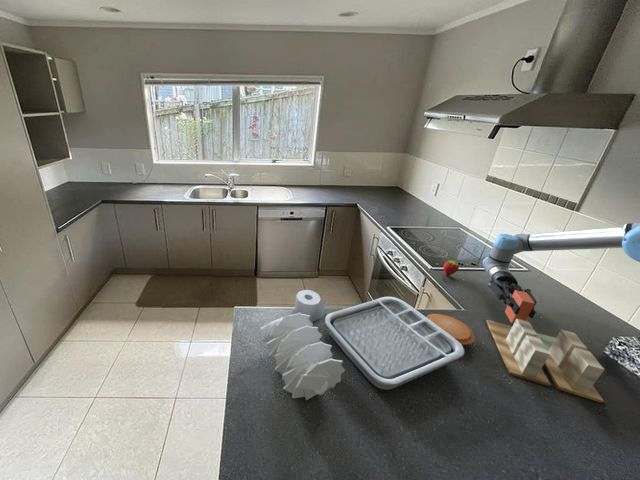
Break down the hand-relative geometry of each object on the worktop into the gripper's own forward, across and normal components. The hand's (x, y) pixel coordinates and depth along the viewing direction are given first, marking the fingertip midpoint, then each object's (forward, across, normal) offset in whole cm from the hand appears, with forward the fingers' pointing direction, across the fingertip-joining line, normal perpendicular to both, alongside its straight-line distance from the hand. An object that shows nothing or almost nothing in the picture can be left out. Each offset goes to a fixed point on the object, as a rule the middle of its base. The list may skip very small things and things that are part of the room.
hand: (525, 312), depth 97 cm
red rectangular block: (-4, 0, -6) cm, 7 cm away
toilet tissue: (+19, +70, -14) cm, 74 cm away
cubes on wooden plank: (+4, -12, -14) cm, 19 cm away
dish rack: (+24, +42, -14) cm, 50 cm away
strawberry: (-42, +14, -14) cm, 46 cm away
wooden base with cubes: (+4, 0, -14) cm, 14 cm away
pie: (+7, +21, -14) cm, 26 cm away
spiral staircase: (+47, +67, -14) cm, 83 cm away
